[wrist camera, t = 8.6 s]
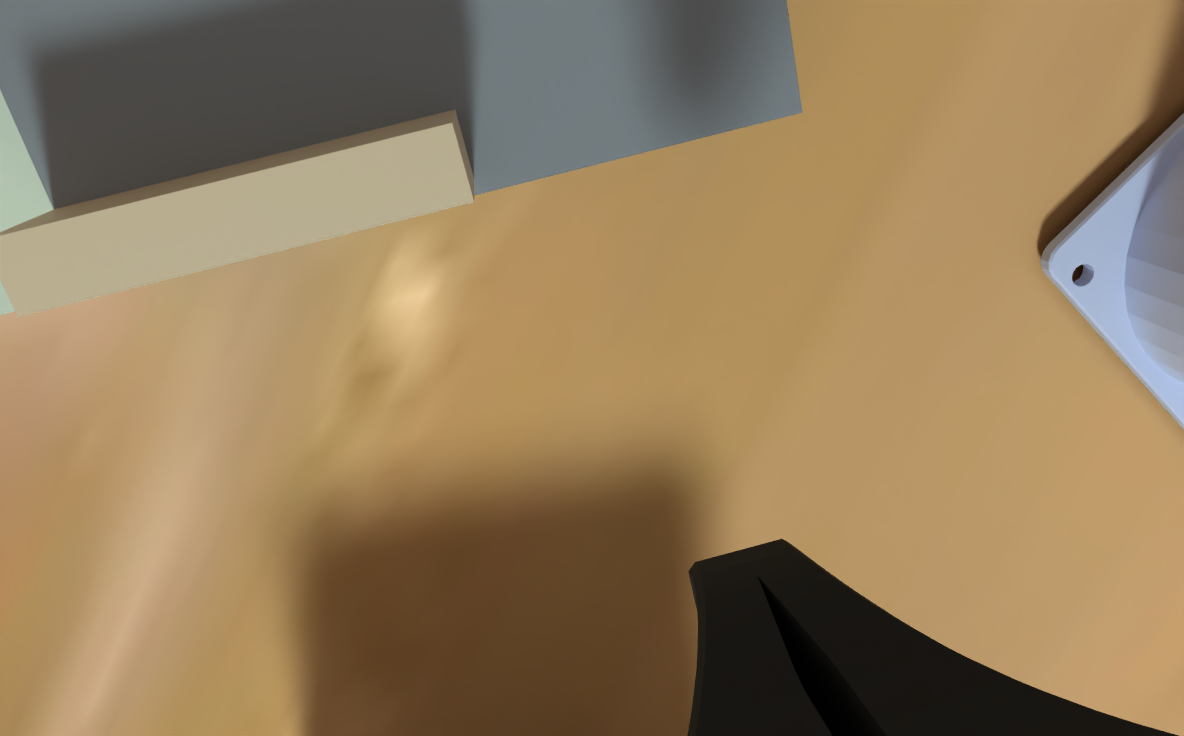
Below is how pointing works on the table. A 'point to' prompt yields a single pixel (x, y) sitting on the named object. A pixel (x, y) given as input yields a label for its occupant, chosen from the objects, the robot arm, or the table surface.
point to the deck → (341, 116)
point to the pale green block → (17, 184)
